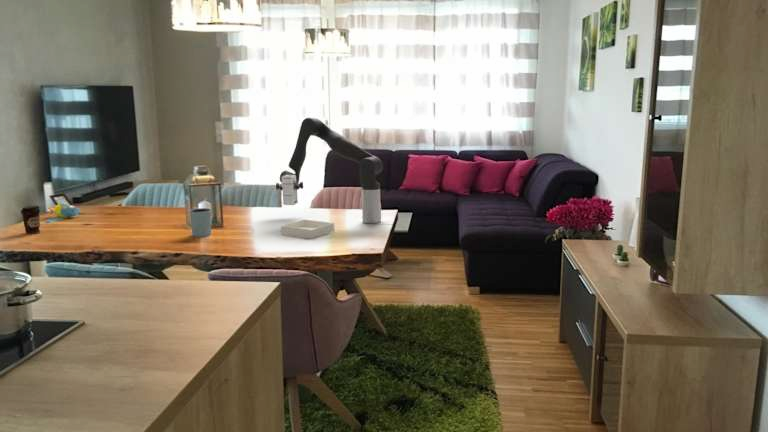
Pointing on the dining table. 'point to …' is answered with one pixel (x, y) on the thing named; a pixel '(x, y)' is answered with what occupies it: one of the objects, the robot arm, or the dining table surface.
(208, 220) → the grey tapered cup
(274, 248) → the dining table surface
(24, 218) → the coffee cup
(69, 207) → the blue yellow toy
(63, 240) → the dining table surface
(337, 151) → the robot arm
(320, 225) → the tray
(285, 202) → the syrup box
